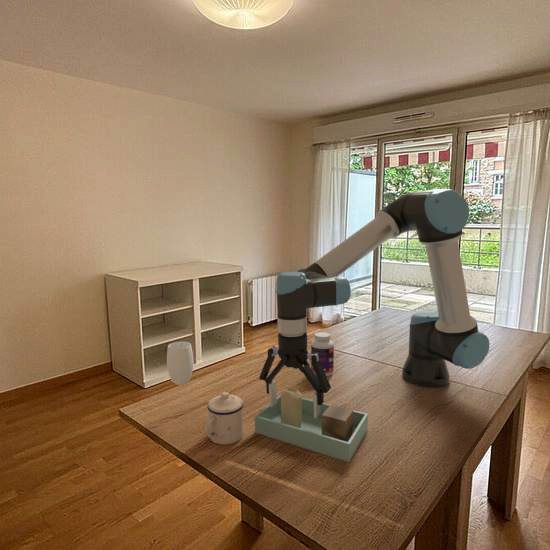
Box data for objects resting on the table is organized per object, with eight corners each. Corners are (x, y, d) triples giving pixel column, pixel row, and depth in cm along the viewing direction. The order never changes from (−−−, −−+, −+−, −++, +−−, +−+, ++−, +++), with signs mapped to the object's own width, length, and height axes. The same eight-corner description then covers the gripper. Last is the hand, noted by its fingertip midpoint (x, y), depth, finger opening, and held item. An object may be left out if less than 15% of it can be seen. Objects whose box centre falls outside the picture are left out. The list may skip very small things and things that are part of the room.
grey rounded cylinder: (182, 424, 105) (179, 351, 102) (163, 416, 109) (160, 346, 106) (200, 412, 111) (198, 343, 108) (182, 406, 115) (179, 339, 112)
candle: (287, 432, 100) (287, 396, 98) (277, 422, 105) (277, 387, 103) (305, 427, 102) (305, 391, 101) (294, 417, 107) (294, 383, 106)
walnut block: (352, 435, 99) (353, 410, 97) (344, 448, 93) (345, 421, 92) (330, 429, 101) (330, 404, 100) (321, 441, 96) (321, 414, 95)
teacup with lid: (224, 422, 106) (223, 382, 104) (250, 432, 101) (250, 390, 99) (192, 444, 96) (190, 400, 94) (220, 456, 91) (219, 410, 89)
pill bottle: (332, 378, 134) (333, 338, 132) (309, 376, 135) (310, 337, 133) (333, 369, 142) (334, 331, 139) (312, 367, 143) (312, 330, 141)
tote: (367, 431, 101) (368, 413, 101) (349, 464, 88) (349, 444, 87) (282, 408, 113) (282, 392, 113) (255, 434, 100) (254, 416, 100)
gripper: (343, 333, 97) (343, 413, 100) (259, 323, 108) (262, 395, 112) (332, 343, 90) (333, 428, 94) (244, 330, 102) (248, 406, 105)
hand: (294, 410), depth 103 cm, fingers open, 12 cm apart
